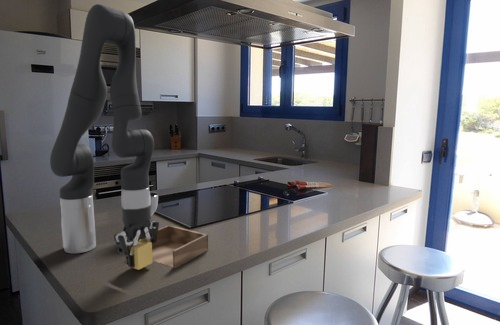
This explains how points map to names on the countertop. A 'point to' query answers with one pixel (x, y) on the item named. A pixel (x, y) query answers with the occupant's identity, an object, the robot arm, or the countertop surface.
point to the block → (142, 254)
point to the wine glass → (153, 202)
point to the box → (178, 245)
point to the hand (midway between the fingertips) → (139, 262)
